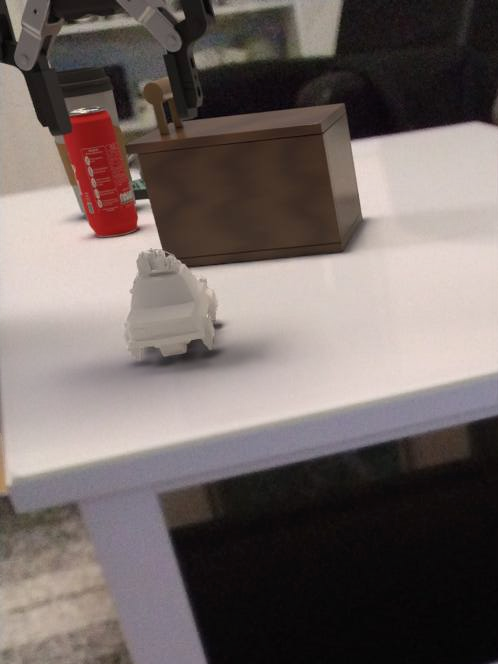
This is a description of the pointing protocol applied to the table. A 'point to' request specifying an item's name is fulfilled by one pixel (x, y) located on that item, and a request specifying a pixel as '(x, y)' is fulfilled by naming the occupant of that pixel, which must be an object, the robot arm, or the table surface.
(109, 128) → the beverage can
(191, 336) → the toy car
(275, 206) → the chest
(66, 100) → the coffee cup
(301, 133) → the lid
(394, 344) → the table surface
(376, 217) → the table surface
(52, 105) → the robot arm
